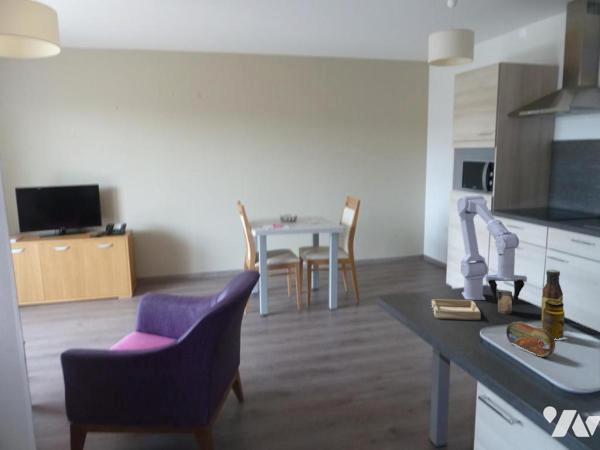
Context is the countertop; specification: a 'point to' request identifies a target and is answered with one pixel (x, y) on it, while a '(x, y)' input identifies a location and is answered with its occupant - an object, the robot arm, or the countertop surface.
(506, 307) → the can
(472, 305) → the tray
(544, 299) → the sauce bottle
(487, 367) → the countertop surface
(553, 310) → the condiment
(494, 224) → the robot arm
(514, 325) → the tin
